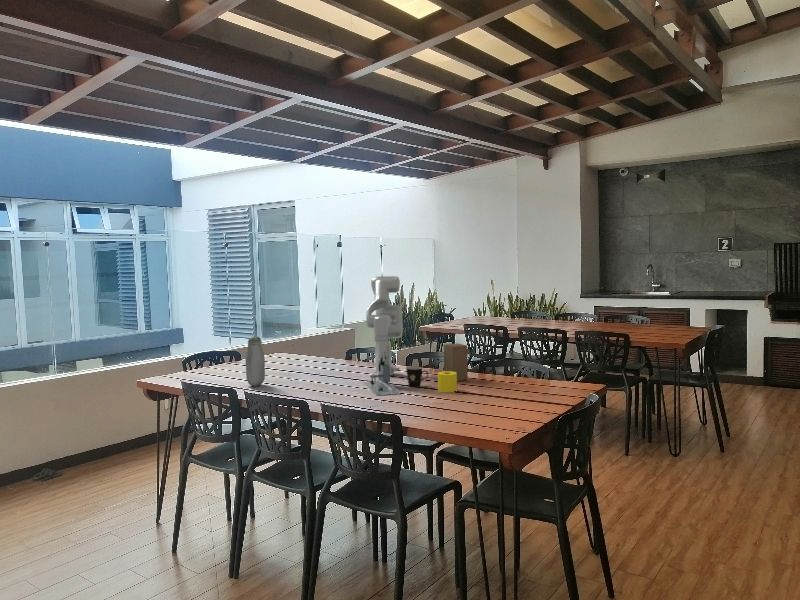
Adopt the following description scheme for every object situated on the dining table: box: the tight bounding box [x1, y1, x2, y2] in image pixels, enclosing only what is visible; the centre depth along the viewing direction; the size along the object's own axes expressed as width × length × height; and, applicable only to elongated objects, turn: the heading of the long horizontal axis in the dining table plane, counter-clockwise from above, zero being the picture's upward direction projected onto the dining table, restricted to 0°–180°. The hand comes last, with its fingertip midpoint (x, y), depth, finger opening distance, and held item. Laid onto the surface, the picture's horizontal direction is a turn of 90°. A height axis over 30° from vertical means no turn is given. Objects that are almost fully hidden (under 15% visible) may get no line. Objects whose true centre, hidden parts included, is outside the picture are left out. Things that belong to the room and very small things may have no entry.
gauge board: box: [363, 374, 400, 397], centre depth 329 cm, size 12×30×6 cm, turn 16°
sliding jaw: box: [373, 364, 391, 383], centre depth 331 cm, size 9×5×9 cm, turn 106°
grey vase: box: [245, 335, 266, 387], centre depth 343 cm, size 10×10×28 cm
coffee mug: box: [406, 366, 429, 388], centre depth 333 cm, size 12×9×10 cm
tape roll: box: [437, 370, 458, 393], centre depth 321 cm, size 10×10×9 cm
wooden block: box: [443, 343, 469, 381], centre depth 350 cm, size 10×10×20 cm
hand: (381, 371), depth 339 cm, fingers closed
